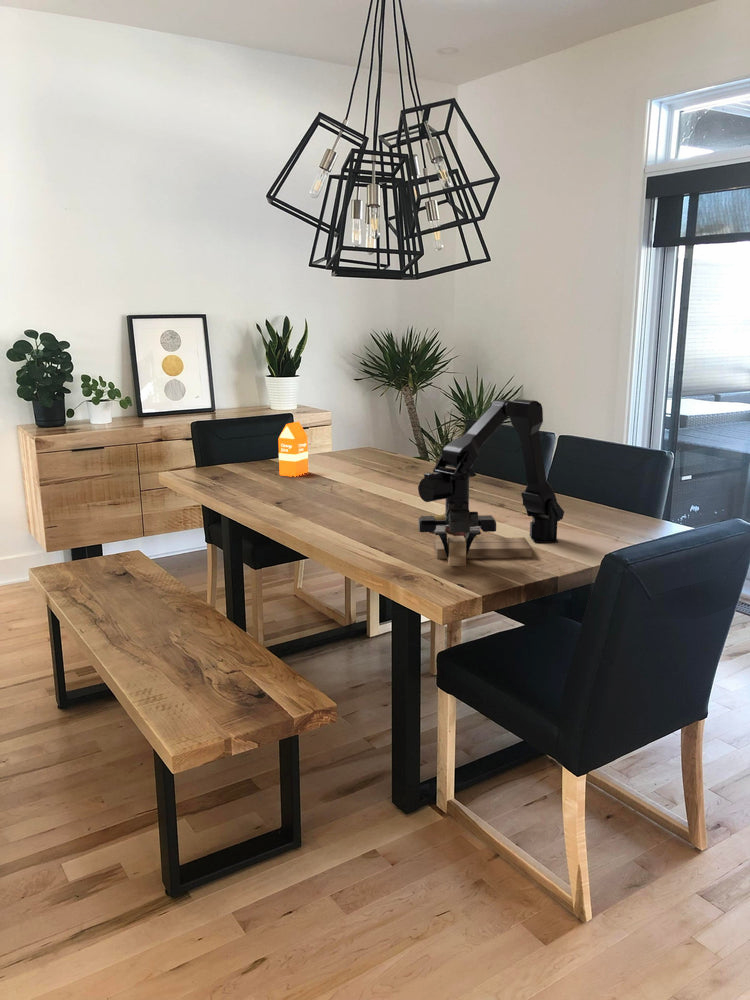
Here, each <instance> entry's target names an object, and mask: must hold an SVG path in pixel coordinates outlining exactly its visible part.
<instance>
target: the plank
mask: <svg viewBox="0 0 750 1000" xmlns="http://www.w3.org/2000/svg"><path fill="white" fill-rule="evenodd" d="M433 548H434V552H435V556H436V559H437V560H438V559H439V560H440V559H441V560H442V559H445V560H446V559H447V556H446V552H445V549H444V546H443V543H442V541H441V538H440V537H438V538H434V539H433ZM510 557H511V558H510ZM513 557H532V558H533V547H532V546H531V544H530V543H529V541H528V540H527V538H526V537H477V538H474V539H473V541H472V543H471V546H470V548H469V551H468V554H467V557H466V559H514V558H513Z"/></svg>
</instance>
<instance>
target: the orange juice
mask: <svg viewBox="0 0 750 1000" xmlns="http://www.w3.org/2000/svg"><path fill="white" fill-rule="evenodd" d="M278 463H279V464H278V466H279V467H278V468H279V469H278V470H279V476H283V477H284V476H285V477H292V476H294V478H295V477H296V476H297V477H300V476H303V475H305V474H304V473H307V472H308V473H309V449H308V435H307V433H306V431H305V430H304V428H303V426H302V425H301V423H300V421H293V422H290V423H286V424H285V426H284V427H283V429H282V431H281V433H280V435H279V437H278ZM308 473H307V474H308ZM302 474H303V475H302ZM299 475H300V476H299Z"/></svg>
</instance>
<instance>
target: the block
mask: <svg viewBox="0 0 750 1000" xmlns="http://www.w3.org/2000/svg"><path fill="white" fill-rule="evenodd" d="M447 541H448V550H449V558H447V562H448V566H449V567H466V566H467V565H466V564H467V558H466V541H465V538H464V536H456V535H447Z"/></svg>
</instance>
